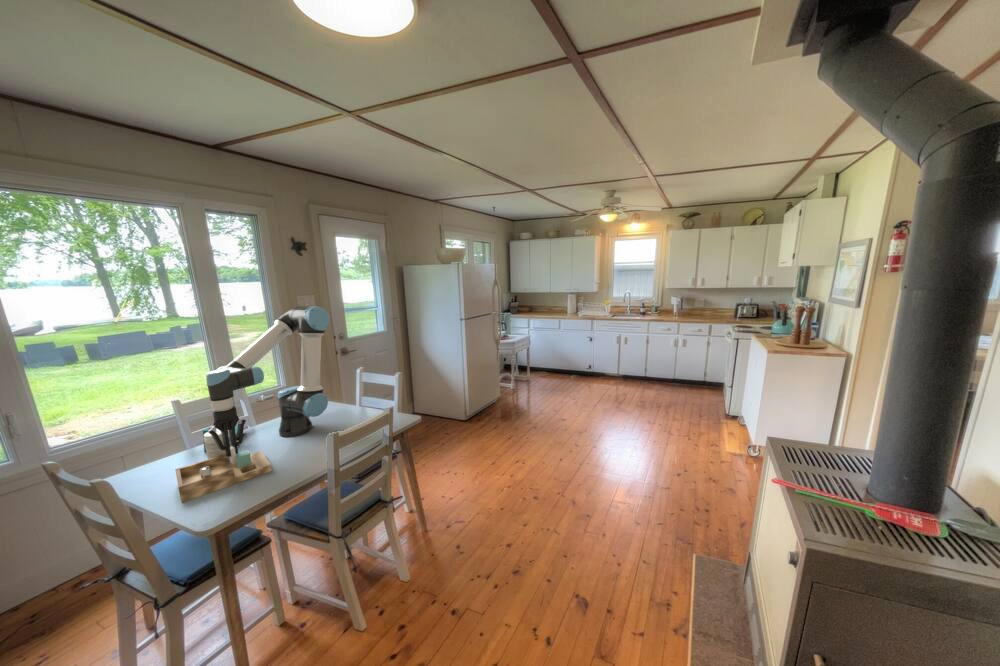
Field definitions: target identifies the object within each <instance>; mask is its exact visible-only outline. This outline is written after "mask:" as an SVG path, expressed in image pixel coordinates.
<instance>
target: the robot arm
mask: <svg viewBox="0 0 1000 666" xmlns="http://www.w3.org/2000/svg"><path fill="white" fill-rule="evenodd" d="M330 322H331V317H330V314H329V313H328V311H327V310H326V309H325V308H323V307H321V306H316V305H304V306H303V305H299V306H298V305H296V306H294V307H292V308H290V309H288V310H287V311H285V312H284V313H282V315H280V316H279V317H278V318H276V319H275V321H274V324H273V325H272V326H271V327H270V328H269V329H267V330H266V331H265V332H264V333H262V334H261V336H259V337H258V338H257V339H256V340H255V341H254V342H252V343H251V344H250V345H249V346H248V347H247V348H245V350H243V351H242V352H241V353H240V354H238V355H237V356H236V357H235V358H234V359H232V361H230V362H229V363H228V364H227V365H222V366H219V367H218V368H217V369H215V370H214V369H213V370H211V371H209V372H207V373H206V378H205V379H206V386H207V390H208V394H209V400H210V406H211V409H212V416H213V421H214V422H213V426H212V427H211V428H210V429H208V430H207V432H208V433H210V434H211V435H212V437H213V439H214V441H215V442H216V444H217V446H218V448H219V449H221V450H225V452H226V456H227V457H229V458H230V463H232V464H235V463H237V458H236V454H238V453H239V448H238V447H239V445H240V444H242V443H243V437H244V428H245V424H246V422H247V421H246V419H244V418H240V417H239V416H238V412H237V407H236V401H235V396H234V391H238V390H241V389H245V388H249V387H253V386H256V385H259V384H262V383H263V382H264V379H265V373H264V371H263V369H262V368H261V367H259V366H255V365H256V364H258V363H259V362H260V361H261V360H262V359H263V358H264V357H265V356H266V355H267V354H268V353H269V352H270V351H271V350H273V349H274V348H275V347H276V346H277V345H278V344H279V343H281V342H282V341H283V340H284V339H285V338H286V337H288V336H291V335H292V334H294V333H295V332H297V334H298V335H299V336H300V337H301V344H300V345H301V346H300V347H301V348H300V351H301V352H300V383H299V384H300V385H294V386H290V387H286V388H283V389H281V390H279V391H278V392H277V401H278V407H279V413H280V424H279V427H278V432H279V434H278V435H279V437H282V438H293V437H297V436H301V435H304V434H306V433H309V432H310V431H312V429H313V427H314V426H313V422H312V420H311V419H310V417H311V418H312V417H313V418H315V417H319V416H321V415H322V414H323V413H324V412H325V411H326V409H327V408H328V405H329V398H328V397H327V396H326V394H324V387H323V386H322V385H321V361H322V360H321V357H322V352H321V351H322V337H323V336H324V335H326V333H325V332H326V331H325V330H326V329H327V328H328V327H329V326H330V324H331V323H330ZM236 425H238V429H237V438H236V433H235V426H236ZM216 428H217V429H218V430H220V431H221V433H222V438H223V444H224V445H223V444H222V442H221V440H220V438H219V436H218V434H217V433H216ZM228 430H229V434H230V439H231V445H232V446H231V447H230V443H229V437H228Z"/></svg>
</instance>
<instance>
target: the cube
mask: <svg viewBox="0 0 1000 666" xmlns="http://www.w3.org/2000/svg"><path fill="white" fill-rule="evenodd" d="M250 454H251V452H250V450H244V451H240V452H238V454H236V458H237V464H238V468H240V467H243V466H247V465H250V464H251V457H250Z"/></svg>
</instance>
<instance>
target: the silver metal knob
mask: <svg viewBox="0 0 1000 666" xmlns="http://www.w3.org/2000/svg"><path fill="white" fill-rule="evenodd" d="M200 474H201V478H205V477H208V476H211V470H210V466H206V467H203V468H201V469H200Z"/></svg>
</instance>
